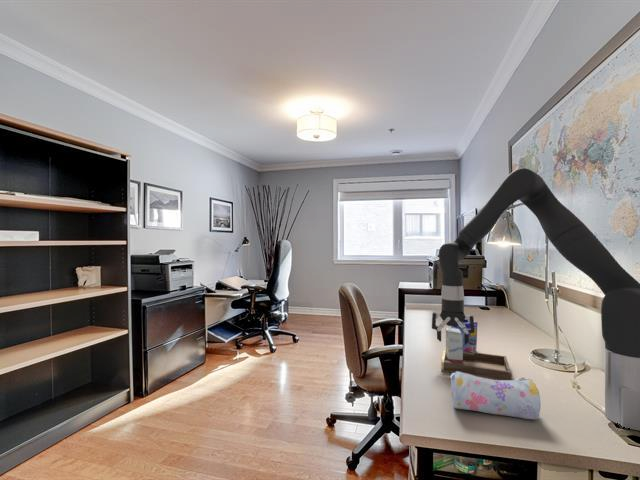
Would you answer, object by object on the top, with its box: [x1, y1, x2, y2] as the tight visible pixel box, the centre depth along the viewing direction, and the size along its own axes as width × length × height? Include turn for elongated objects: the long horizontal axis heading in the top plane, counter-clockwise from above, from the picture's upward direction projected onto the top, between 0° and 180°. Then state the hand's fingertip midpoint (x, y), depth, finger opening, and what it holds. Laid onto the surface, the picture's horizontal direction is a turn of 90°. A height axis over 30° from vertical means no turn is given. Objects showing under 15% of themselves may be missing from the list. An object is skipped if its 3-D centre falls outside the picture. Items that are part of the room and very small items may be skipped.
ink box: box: [445, 327, 463, 363], centre depth 118 cm, size 9×5×12 cm, turn 165°
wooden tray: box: [440, 347, 512, 380], centre depth 116 cm, size 16×21×3 cm
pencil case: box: [449, 371, 542, 420], centre depth 86 cm, size 21×9×10 cm, turn 76°
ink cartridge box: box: [450, 318, 478, 353], centre depth 134 cm, size 10×6×14 cm, turn 117°
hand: (452, 342), depth 118 cm, fingers open, 8 cm apart
